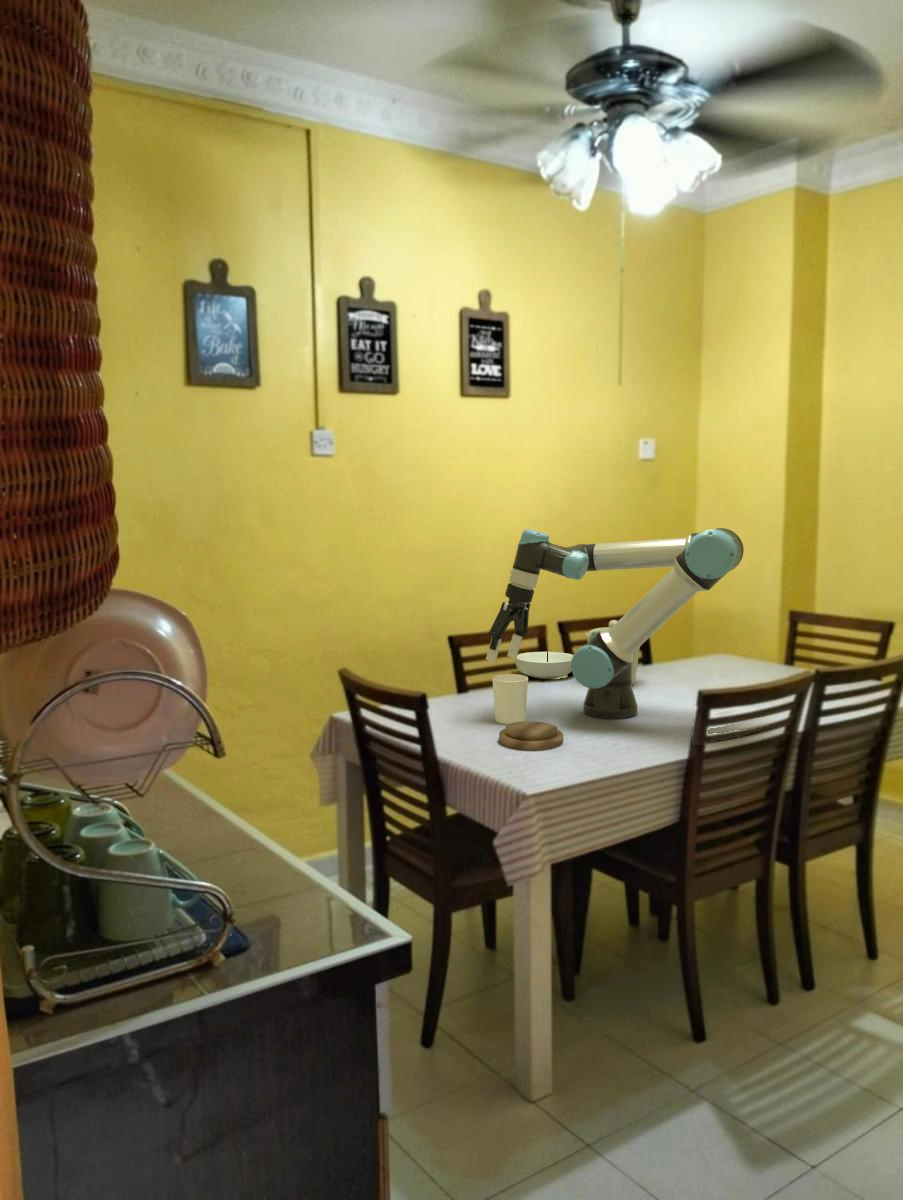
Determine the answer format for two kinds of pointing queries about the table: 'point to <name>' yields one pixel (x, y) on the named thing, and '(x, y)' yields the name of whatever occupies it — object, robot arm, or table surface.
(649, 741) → the table surface
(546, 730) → the walnut pedestal
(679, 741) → the table surface
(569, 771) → the table surface
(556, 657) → the serving bowl
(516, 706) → the candle holder
